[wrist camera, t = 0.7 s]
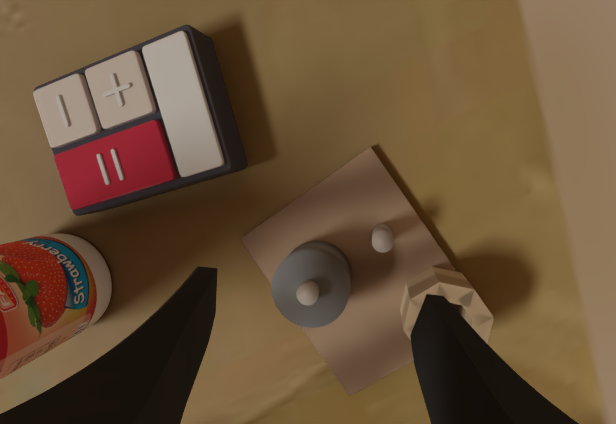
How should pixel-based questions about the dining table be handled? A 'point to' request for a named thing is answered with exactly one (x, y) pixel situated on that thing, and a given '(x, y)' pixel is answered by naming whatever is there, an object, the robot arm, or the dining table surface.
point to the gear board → (374, 270)
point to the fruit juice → (48, 295)
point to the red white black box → (141, 122)
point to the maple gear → (453, 290)
